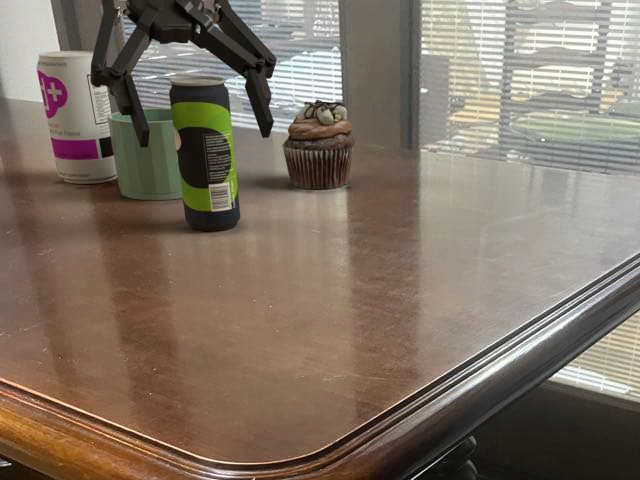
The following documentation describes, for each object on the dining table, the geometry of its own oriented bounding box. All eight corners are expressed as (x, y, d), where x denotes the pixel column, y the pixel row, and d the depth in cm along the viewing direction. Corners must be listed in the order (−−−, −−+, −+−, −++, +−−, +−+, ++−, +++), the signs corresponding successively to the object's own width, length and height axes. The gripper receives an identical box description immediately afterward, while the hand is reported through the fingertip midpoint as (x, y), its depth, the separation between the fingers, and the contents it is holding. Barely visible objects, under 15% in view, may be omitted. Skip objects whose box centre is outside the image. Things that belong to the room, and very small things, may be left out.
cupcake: (301, 172, 124) (296, 93, 118) (365, 177, 121) (364, 97, 116) (272, 187, 116) (266, 104, 111) (340, 193, 114) (337, 108, 108)
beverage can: (246, 219, 103) (234, 76, 95) (233, 233, 98) (218, 84, 90) (195, 217, 104) (178, 74, 95) (179, 231, 99) (159, 82, 90)
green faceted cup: (102, 195, 112) (89, 118, 107) (152, 178, 120) (141, 105, 115) (174, 203, 109) (164, 124, 104) (220, 185, 117) (212, 111, 112)
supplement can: (76, 188, 115) (50, 58, 107) (49, 177, 120) (23, 53, 112) (132, 178, 120) (112, 54, 111) (104, 168, 125) (83, 48, 116)
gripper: (28, -70, 87) (90, 118, 85) (263, -65, 98) (324, 103, 95) (31, -9, 94) (88, 166, 92) (250, -11, 104) (307, 147, 102)
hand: (208, 134), depth 94 cm, fingers open, 13 cm apart
